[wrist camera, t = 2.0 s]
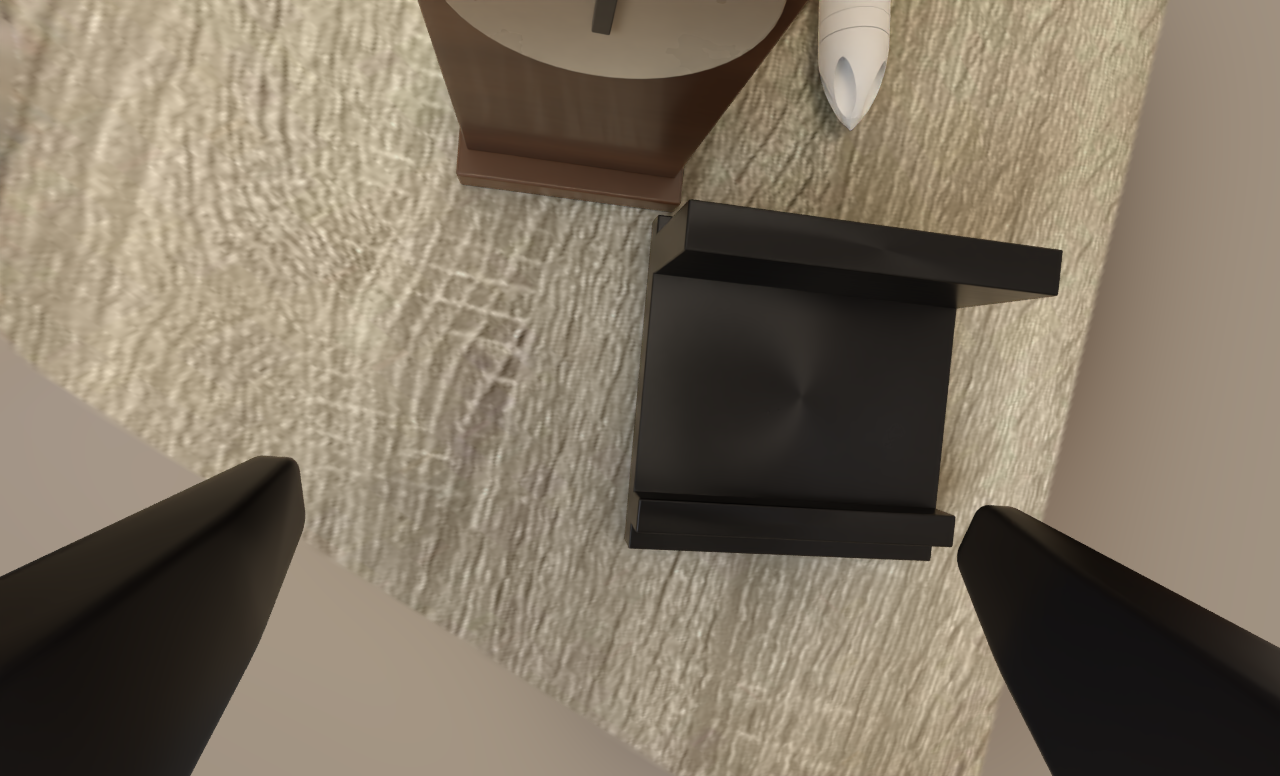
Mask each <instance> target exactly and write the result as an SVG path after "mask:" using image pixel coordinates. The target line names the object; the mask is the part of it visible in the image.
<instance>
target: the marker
mask: <svg viewBox="0 0 1280 776" xmlns="http://www.w3.org/2000/svg"><path fill="white" fill-rule="evenodd" d="M890 6H891V0H819V24H818V65H819V73H820V78H821V83H822V86H823V89H824V92H825V94H826V97H827V99H828V101H829V103H830V105H831V107H832V109H833V111H834V113H835V114H836V116H837V118H838V119H839V120H840V122H841V123H842V124H843V125H845V126H846V127H847V128H848V129H849V130H850V131H851V130H852V129H853V128H854V127H855V126H856V125H857V124H858V123H859V122H860V121H861V120H862V118H863V117H864V116H865V114H866V113H867V112H868V110H869V108H870V107H871V105H872V103H873V101H874V99H875V97H876V95H877V93H878V90H879V88H880V85H881V83H882V79H883V76H884V73H885V69H886V64H887V59H888V53H889V40H890V18H891V16H890Z"/></svg>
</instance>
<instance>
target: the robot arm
mask: <svg viewBox="0 0 1280 776" xmlns="http://www.w3.org/2000/svg"><path fill="white" fill-rule="evenodd" d="M304 523H305V506H304V499H303V491H302V484H301V476H300V470H299V466H298V464H297V462H296V461H295V460H294V459H292V458H289V457H275V456H257V457H254V458H252V459H250V460H248V461H246V462H243V463H241V464H239V465H237V466H235V467H233V468H231V469H229V470H226V471H224V472H222V473H220V474H218V475H216V476H214V477H212V478H209V479H207V480H205V481H203V482H201V483H199V484H197V485H195V486H192V487H190V488H188V489H186V490H184V491H182V492H180V493H177V494H175V495H173V496H171V497H169V498H167V499H165V500H163V501H160V502H158V503H156V504H154V505H152V506H150V507H148V508H146V509H143V510H141V511H139V512H137V513H135V514H133V515H131V516H128V517H126V518H124V519H122V520H120V521H118V522H116V523H114V524H112V525H109V526H107V527H105V528H103V529H101V530H99V531H97V532H94V533H92V534H90V535H88V536H86V537H84V538H82V539H80V540H77V541H75V542H73V543H71V544H69V545H67V546H65V547H62V548H60V549H58V550H56V551H54V552H52V553H50V554H48V555H45V556H43V557H41V558H39V559H37V560H35V561H33V562H30V563H28V564H26V565H24V566H22V567H20V568H18V569H16V570H14V571H11V572H9V573H7V574H5V575H3V576H1V577H0V776H190V775H191V773H192V771H193V769H194V768H195V766H196V764H197V762H198V760H199V758H200V756H201V754H202V752H203V750H204V748H205V746H206V745H207V743H208V741H209V739H210V737H211V735H212V733H213V731H214V729H215V727H216V726H217V724H218V722H219V720H220V718H221V716H222V714H223V712H224V710H225V708H226V706H227V705H228V703H229V701H230V698H231V697H232V695H233V693H234V691H235V689H236V687H237V685H238V683H239V682H240V680H241V678H242V676H243V674H244V672H245V670H246V668H247V666H248V664H249V662H250V660H251V658H252V656H253V654H254V652H255V650H256V648H257V646H258V644H259V641H260V639H261V637H262V634H263V632H264V629H265V627H266V625H267V622H268V619H269V617H270V614H271V612H272V609H273V607H274V604H275V601H276V599H277V596H278V593H279V591H280V588H281V586H282V583H283V581H284V578H285V576H286V573H287V570H288V568H289V565H290V563H291V560H292V557H293V555H294V552H295V550H296V547H297V545H298V542H299V539H300V537H301V534H302V531H303V528H304ZM957 562H958V567H959V570H960V573H961V575H962V578H963V580H964V583H965V586H966V588H967V591H968V593H969V596H970V598H971V601H972V603H973V606H974V608H975V611H976V613H977V616H978V618H979V621H980V624H981V626H982V629H983V631H984V634H985V636H986V639H987V641H988V644H989V646H990V649H991V651H992V654H993V656H994V659H995V661H996V663H997V666H998V668H999V670H1000V672H1001V674H1002V677H1003V679H1004V681H1005V683H1006V685H1007V687H1008V689H1009V691H1010V693H1011V695H1012V697H1013V699H1014V701H1015V703H1016V705H1017V706H1018V709H1019V711H1020V713H1021V715H1022V717H1023V718H1024V720H1025V722H1026V725H1027V726H1028V728H1029V730H1030V732H1031V734H1032V736H1033V738H1034V740H1035V742H1036V744H1037V746H1038V748H1039V750H1040V752H1041V754H1042V756H1043V758H1044V760H1045V762H1046V764H1047V766H1048V768H1049V770H1050V772H1051V774H1052V776H1280V648H1279V647H1277V646H1275V645H1273V644H1271V643H1269V642H1268V641H1265V640H1264V639H1262V638H1260V637H1258V636H1256V635H1254V634H1252V633H1251V632H1248V631H1247V630H1245V629H1243V628H1241V627H1239V626H1237V625H1235V624H1234V623H1232V622H1230V621H1228V620H1226V619H1224V618H1222V617H1220V616H1218V615H1216V614H1215V613H1213V612H1211V611H1209V610H1207V609H1205V608H1203V607H1201V606H1200V605H1198V604H1196V603H1194V602H1192V601H1190V600H1188V599H1186V598H1184V597H1183V596H1181V595H1179V594H1177V593H1175V592H1173V591H1171V590H1169V589H1167V588H1165V587H1164V586H1162V585H1160V584H1158V583H1156V582H1154V581H1152V580H1150V579H1148V578H1147V577H1145V576H1142V575H1141V574H1139V573H1137V572H1135V571H1133V570H1131V569H1129V568H1128V567H1126V566H1124V565H1122V564H1120V563H1118V562H1116V561H1114V560H1113V559H1111V558H1109V557H1107V556H1105V555H1103V554H1101V553H1099V552H1097V551H1095V550H1094V549H1092V548H1090V547H1088V546H1086V545H1084V544H1082V543H1080V542H1079V541H1077V540H1075V539H1073V538H1071V537H1069V536H1067V535H1065V534H1063V533H1062V532H1060V531H1058V530H1056V529H1054V528H1052V527H1050V526H1048V525H1046V524H1045V523H1043V522H1041V521H1039V520H1037V519H1035V518H1033V517H1031V516H1029V515H1028V514H1026V513H1024V512H1022V511H1020V510H1018V509H1016V508H1013V507H1009V506H994V505H986V506H983V507H981V508H980V509H978V510H977V512H976V513H975V515H974V517H973V519H972V521H971V523H970V526H969V528H968V530H967V532H966V534H965V536H964V538H963V540H962V543H961V545H960V547H959V549H958V554H957Z"/></svg>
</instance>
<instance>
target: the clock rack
mask: <svg viewBox="0 0 1280 776" xmlns="http://www.w3.org/2000/svg"><path fill="white" fill-rule="evenodd" d="M1062 253H1063V252H1062V250H1058V249H1050V248H1043V247H1036V246H1029V245H1021V244H1014V243H1007V242H999V241H992V240H985V239H977V238H970V237H963V236H956V235H948V234H941V233H934V232H926V231H919V230H912V229H904V228H897V227H890V226H882V225H875V224H868V223H861V222H853V221H846V220H839V219H831V218H824V217H817V216H809V215H802V214H795V213H788V212H780V211H773V210H766V209H758V208H751V207H744V206H736V205H729V204H722V203H714V202H707V201H700V200H693V199H690V200H688V201H687V202H686V204H685V205H684V206H683V207H682V208H681V209H680V210H679V211H678V212H677V213H676V214H675V215H674V216H673V217H672V216H664V215H658V217H657V218H656V219H655V220H654V221H653V224H652V235H651V246H650V257H649V268H648V279H647V291H646V302H645V313H644V324H643V335H642V346H641V358H640V369H639V380H638V391H637V402H636V413H635V425H634V436H633V447H632V458H631V469H630V480H629V492H628V503H627V514H626V525H625V536H624V539H625V541H626V543H627V545H628V547H629V548H630V549H654V550H678V551H702V552H725V553H749V554H773V555H797V556H820V557H844V558H868V559H892V560H915V561H930V558H931V549H932V546H935V547H952V546H953V537H954V527H955V516H954V515H951V514H948V513H946V512H943V511H940V510H938V509H936V500H937V491H938V481H939V472H940V462H941V452H942V443H943V433H944V423H945V414H946V404H947V394H948V385H949V375H950V365H951V356H952V346H953V336H954V327H955V317H956V308H964V307H972V306H980V305H988V304H996V303H1004V302H1012V301H1020V300H1028V299H1036V298H1044V297H1052V296H1057V295H1058V290H1059V281H1060V271H1061V262H1062Z"/></svg>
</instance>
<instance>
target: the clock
mask: <svg viewBox="0 0 1280 776" xmlns="http://www.w3.org/2000/svg"><path fill="white" fill-rule="evenodd" d="M808 1H809V0H418V3H419V6H420V9H421V12H422V15H423V17H424V20H425V23H426V26H427V29H428V32H429V35H430V38H431V41H432V44H433V47H434V50H435V53H436V56H437V59H438V62H439V65H440V68H441V71H442V74H443V77H444V80H445V83H446V86H447V89H448V92H449V95H450V98H451V101H452V104H453V107H454V110H455V113H456V116H457V119H458V122H459V125H460V130H459V143H458V155H457V168H456V174H457V176H458V179H459V181H460V183H461V184H463V185H471V186H479V187H486V188H494V189H501V190H509V191H516V192H524V193H531V194H539V195H546V196H554V197H561V198H569V199H576V200H584V201H592V202H599V203H607V204H614V205H622V206H629V207H637V208H644V209H652V210H659V211H667V212H674V211H675V210H676V209H677V208H678V206H679V205H680V204H681V195H682V184H683V173H684V165H685V164H686V163H687V161H688V160H689V159H690V157H691V156H692V155H693V153H694V152H695V151H696V149H697V148H698V147H699V145H700V144H701V143H702V142H703V140H704V139H705V138H706V136H707V135H708V134H709V132H710V131H711V130H712V128H713V127H714V126H715V124H716V123H717V122H718V120H719V119H720V118H721V116H722V115H723V114H724V112H725V111H726V110H727V108H728V107H729V106H730V104H731V103H732V102H733V100H734V99H735V98H736V96H737V95H738V94H739V92H740V91H741V90H742V88H743V87H744V86H745V84H746V83H747V82H748V80H749V79H750V78H751V76H752V75H753V74H754V72H755V71H756V70H757V68H758V67H759V66H760V64H761V63H762V62H763V61H764V59H765V58H766V57H767V55H768V54H769V53H770V51H771V50H772V49H773V47H774V46H775V45H776V43H777V42H778V41H779V39H780V38H781V37H782V35H783V34H784V33H785V31H786V30H787V29H788V27H789V26H790V25H791V23H792V22H793V21H794V19H795V18H796V17H797V15H798V14H799V13H800V11H801V10H802V9H803V7H804V6H805V5H806V3H807V2H808Z"/></svg>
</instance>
